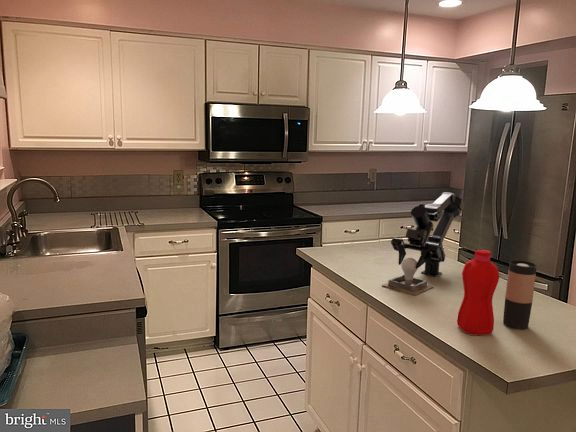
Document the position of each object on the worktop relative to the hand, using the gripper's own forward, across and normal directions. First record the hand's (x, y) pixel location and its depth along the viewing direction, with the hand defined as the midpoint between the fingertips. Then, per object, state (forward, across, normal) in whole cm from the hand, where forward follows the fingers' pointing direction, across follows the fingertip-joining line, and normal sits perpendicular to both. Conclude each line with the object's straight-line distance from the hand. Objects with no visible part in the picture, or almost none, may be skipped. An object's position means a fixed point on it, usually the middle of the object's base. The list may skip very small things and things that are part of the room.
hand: (407, 266), depth 181 cm
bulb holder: (+5, 0, +7) cm, 9 cm away
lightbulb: (+5, 0, +6) cm, 8 cm away
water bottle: (+21, +32, -9) cm, 40 cm away
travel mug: (+13, +41, 0) cm, 43 cm away
